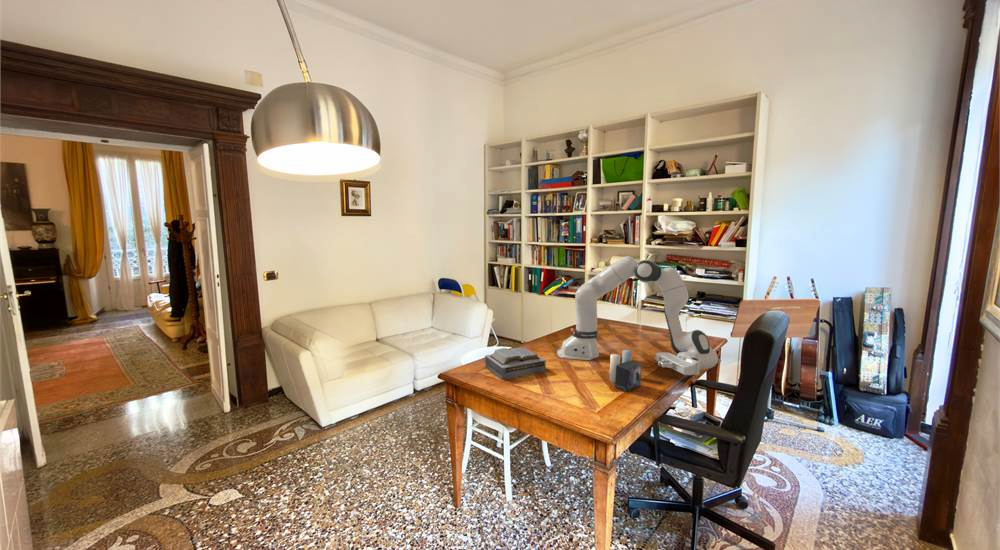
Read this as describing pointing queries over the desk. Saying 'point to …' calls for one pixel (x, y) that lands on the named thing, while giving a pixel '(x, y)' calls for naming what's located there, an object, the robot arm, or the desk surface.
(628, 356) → the slate post
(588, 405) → the desk surface
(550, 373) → the desk surface
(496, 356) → the bible
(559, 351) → the robot arm
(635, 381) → the small box
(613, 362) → the cream post
